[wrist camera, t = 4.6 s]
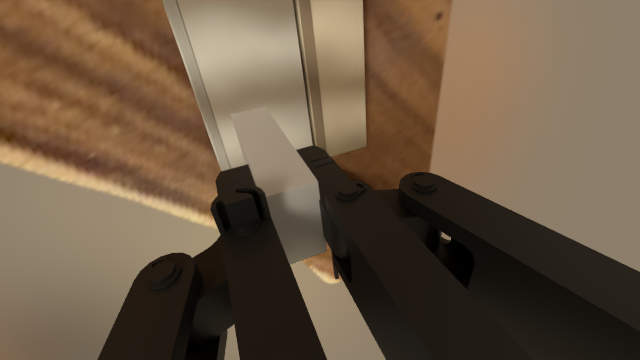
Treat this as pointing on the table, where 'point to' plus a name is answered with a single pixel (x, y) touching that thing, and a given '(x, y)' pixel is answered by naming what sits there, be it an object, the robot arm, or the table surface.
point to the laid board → (333, 72)
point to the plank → (242, 67)
